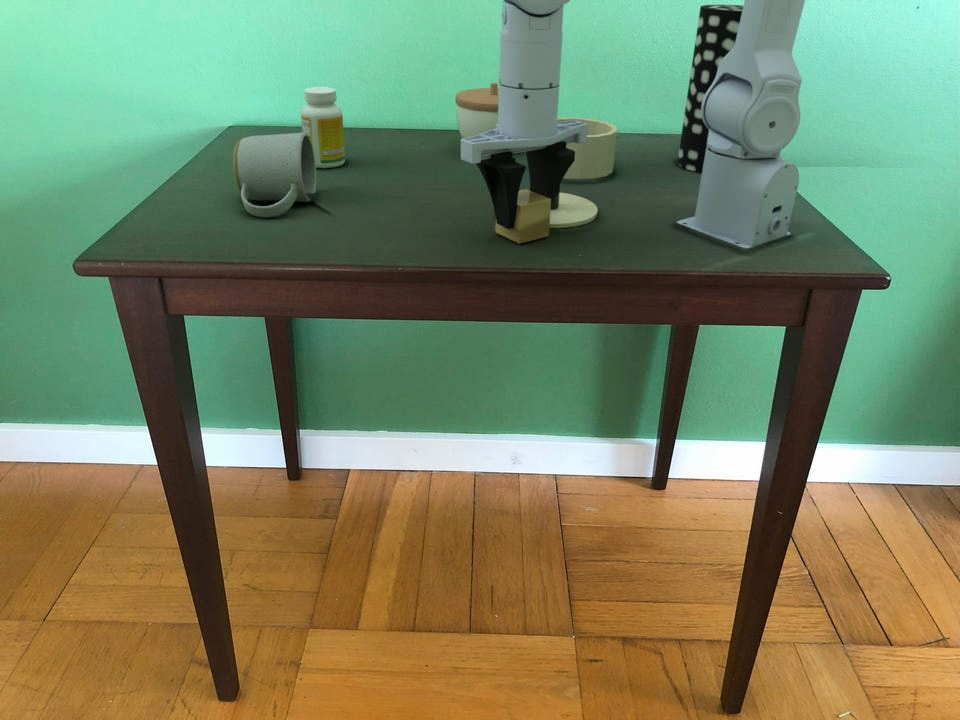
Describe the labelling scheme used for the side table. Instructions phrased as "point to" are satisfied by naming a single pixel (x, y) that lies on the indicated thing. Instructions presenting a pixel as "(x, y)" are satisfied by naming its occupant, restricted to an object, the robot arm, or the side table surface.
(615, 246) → the side table surface
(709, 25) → the white-spotted black cylinder
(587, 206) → the tin lid
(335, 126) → the supplement bottle
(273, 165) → the ceramic mug
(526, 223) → the block
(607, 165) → the tin
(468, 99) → the trinket box
